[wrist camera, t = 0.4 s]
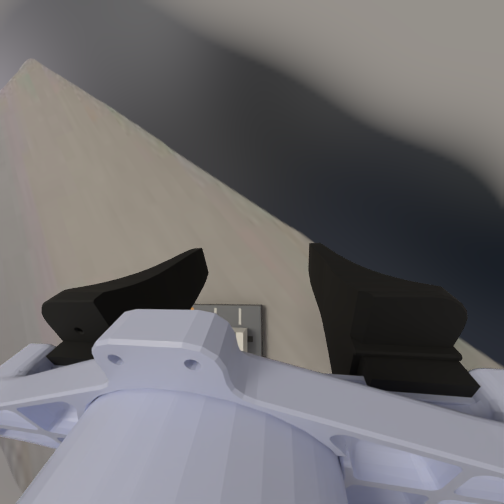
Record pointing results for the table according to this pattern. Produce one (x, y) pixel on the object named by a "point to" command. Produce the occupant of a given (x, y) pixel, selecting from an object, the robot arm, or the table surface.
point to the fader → (241, 338)
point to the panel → (240, 321)
